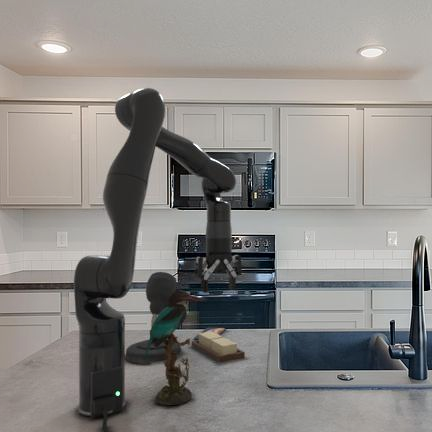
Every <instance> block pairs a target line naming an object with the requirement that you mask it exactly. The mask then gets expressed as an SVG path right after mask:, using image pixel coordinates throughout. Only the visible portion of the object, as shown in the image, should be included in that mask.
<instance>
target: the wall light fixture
mask: <svg viewBox="0 0 432 432" xmlns="http://www.w3.org/2000/svg"><path fill="white" fill-rule="evenodd" d="M177 282H178V281H177V278H176V277H175V276H174V275H172V274H171V273H168V272H165V271H155V272H154V273H151V274H150V276H149V278H148V280H147V282H146V288H145V296H146V300H147V301H148V302H149V303H150V304H149V311H150V313H151V320H150V322H151V323H150V330H149V332H150V331H151V328H152V326H153V323H154V321H155V319H156V318H157V316H158V315H159V314H160V312H161V311H162V310H163V309H165V306H167V303H168V300H169V298H170V295H171V294H172V293H173V292H174V291H176V290H177V287H178V286H177ZM153 342H154V340H153ZM153 342H152V343H151V345H150V348H149V350H148V353H147V355H146V357H145V359H144V360H143V358H144V355H145V353H146V349H147V346H148V343H149V339H145V340H142V341H138V342H134V343H132V344H130V345H129V346H128V347H127V348H125V361H128V362H129V363H132V364H140V365H149V364H152V363H159V362H165V361H166V357H165V356H166V355H167V352H166V350H165V349H164V347H165V345H166V344H164V342H163V343H161V344H160V345H159V346H158V347H157V348H156V347H155V346H154V343H153ZM181 347H182V346H179V345H178V344H176V343H175V344H174V345H173V346H172V350H174V351H176V352H177V355H178V356H180V354H181V353H182V348H181Z"/></svg>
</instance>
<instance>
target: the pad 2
mask: <svg viewBox="0 0 432 432" xmlns="http://www.w3.org/2000/svg"><path fill="white" fill-rule="evenodd" d="M237 349H238V343H236V342H234V341H232V340H230V339H228V338H226V337H223V338H219V339H213V340H211V351H213V352H215V353H216V354H218V355H220V356H223V355H228V354H233V353H237Z"/></svg>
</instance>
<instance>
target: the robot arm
mask: <svg viewBox="0 0 432 432" xmlns="http://www.w3.org/2000/svg"><path fill="white" fill-rule="evenodd" d="M165 103H166V102H165V100H164V98H163V95H162V94H161V93H160V92H159V91H158V90H156V89H155V88H151V87H144V88H140V89H137V90H135V91H132V92H131V93H128V94H125V95H124V96H122V97H120V98H118V100H117V101H116V102H115V104H114V114H115V117H116V119H117V121H118V122H119V123H120V124H121V125H122V127H124V128H125V129H127V130H128V131H129V133H128V136H127V138H126V140H125V142H124V143H123V146H122V147H121V148H120V150H119V152H118V153H117V155H116V156H115V157H114V159H113V160H112V162H111V164H110V166H109V169H108V172H107V175H106V179H105V183H104V188H103V192H102V202H103V206H104V209H105V211H106V214H107V217H108V219H109V221H110V225H111V227H112V231H113V232H112V233H113V234H112V235H113V238H112V246H111V251H110V254H109V255H105V254H104V255H101V254H100V255H99V254H93V255H91V254H89V255H85V256H84V257H82V258H80V260H79V261H78V263H77V264H76V267H75V269H74V274H73V296H74V311H75V318H76V321H77V324H78V403H79V405H78V413H79V414H80V415H82V416H85V417H90V418H91V419H96V418H100V417H103V420H102V430H103V432H110V430H109V429H108V425H107V424H108V418H109V415H113V414H116V413H121V412H123V410H124V407H125V406H126V377H125V376H126V344H125V343H126V322H125V321H126V319H125V315H124V314H123V313H122V312H120V311H119V310H116V309H115V308H113V307H112V306H111V305H110V304H109V303H108V301H107V299H113V300H114V299H117V300H118V299H122V298H124V297H125V296H127V294H128V292H129V291H130V289H131V286H132V283H133V279H134V274H135V268H136V267H135V266H136V257H137V246H138V238H139V229H140V224H141V218H142V213H143V209H144V206H145V205H144V204H145V200H146V197H147V192H148V188H149V187H148V185H149V181H150V173H151V169H152V165H153V160H154V155H155V151H156V148H157V149H159V150H160V151H162V152H164V153H165V154H166V155H168V156H170V158H172V159H174V160H175V161H176V162H177V163H179V164H180V165H181V166H182V167H183V168H184V169H185V170H187V171H188V172H189V173H190V174H192V175H193V176H194V177H197V178H201V189H202V190H201V191H202V194H203V198H204V203H205V205H206V226H205V254H206V255H205V257H204V256H203V257H202V256H196V257H195V263H194V277H195V278H197V279H199V280H200V290H201V291H202V292H203V293H205V294H207V293H209V280H208V279H209V278H210V276H211V275H212V274H213V272H219V271H223V272H226V274H228V276H229V277H228V290H229V291H234V290H235V289H236V286H237V283H236V282H237V281H236V280H237V277H238V276H241V275H242V274H243V269H242V256H241V255H239V254H234V255H232V247H233V245H232V240H233V239H232V238H233V237H232V221H231V220H232V217H231V216H232V208H231V203H229V202H228V201H225V200H223V197H222V194H227V193H230V192H232V191H233V190H234V189H235V188H236V186H237V178H236V177H237V176H236V175H235V173H234V172H233V171H232V170H231V169H230V168H229V167H228V166H226V165H225V164H223V163H221V162H220V161H218V160H217V159H214V158H212V157H211V156H210V155H209V154H208V153H207V152H205V151H204V150H203V149H202V148H201V147H200V146H199V145H198V144H196V143H195V142H194V141H192V140H190V139H189V138H186V137H184V136H181V135H180V134H177V133H175V132H173V131H171V130H169V129H167V128H165V127H163V125H164V121H165V117H166V104H165ZM232 262H233V266H232V265H231V263H232ZM205 263H206V266H205V267H203V265H204V264H205ZM203 268H204V269H203Z"/></svg>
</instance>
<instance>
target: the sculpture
mask: <svg viewBox="0 0 432 432" xmlns="http://www.w3.org/2000/svg"><path fill="white" fill-rule="evenodd" d="M186 302H195V303H197V302H205V299H202V298H201V297H196V296H193V295H190V294H189V293H188V291H186V290H182V289H176V291H174V292H173V293H172V294H171V295H170V298H169V300H168V303H167V305H165V307H164V308H163V310H162V311H161V312H160V314H158V315H157V318H156V319H155V321H154V323H153V326H152V328H151V327H150V330H151V331H150V330H149V339H148V340H149V343H148V346H147V349H146V353H145V355H144V358H143V360H144V359H145V357H146V355H147V353H148V350H149V348H150V345H151V343H152V342H153V340H154V342H153V343H154V346H155V347H156V348H157V347H158V346H159V345H160V344H161V343H163V342H164V344H166V345H165V347H164V349H165V350H166V352H167V355H166V356H165V357H166V360H164V361H163V364H164V367H165V378H166V380H167V385H164V386H163V387H162V388H161V389H160V390H159V391H158V392H157V393H156V396H155V399H154V402H155V403H156V404H157V405H162V406H176V405H181V404H184V403H186V402H188V401H189V400H190V399H191V398H192V391H191V390H190V389H189V388H187V387H185V386H186V385H187V382H188V381H189V371H190V368H191V367H190V363H189V358H188V357H185V358H181V360H180V362H181V363H178V366H177V365H175V364H176V362H177V361H178V358H179V355H177V352H176V351H174V350H172V346H173V345H174V344H175V343H176V344H178V345H179V346H181V347H184V346H186V345H188V346H190V345H191V338H187V339H186V340H184V341H183V342H182V341H181V342H180V341H178V336H176V335H175V334H174V332H175V331H176V330H177V329H178V328H180V327H181V326H182V325H183V324H184V323H185V320H186V319H187V315H188V305H187V303H186ZM181 364H183V365H184V366H185V367H184V370H183V368H181ZM181 378H183V380H182V383H181Z"/></svg>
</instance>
